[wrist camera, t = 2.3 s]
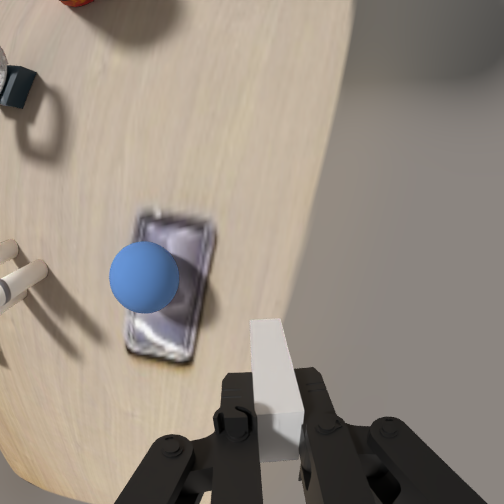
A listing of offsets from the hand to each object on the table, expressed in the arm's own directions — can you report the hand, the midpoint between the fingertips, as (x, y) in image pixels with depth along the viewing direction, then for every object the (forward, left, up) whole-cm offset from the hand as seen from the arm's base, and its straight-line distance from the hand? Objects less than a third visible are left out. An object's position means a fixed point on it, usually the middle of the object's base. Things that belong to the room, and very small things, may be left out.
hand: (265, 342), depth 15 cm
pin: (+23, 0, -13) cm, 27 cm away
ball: (+9, 0, -10) cm, 14 cm away
